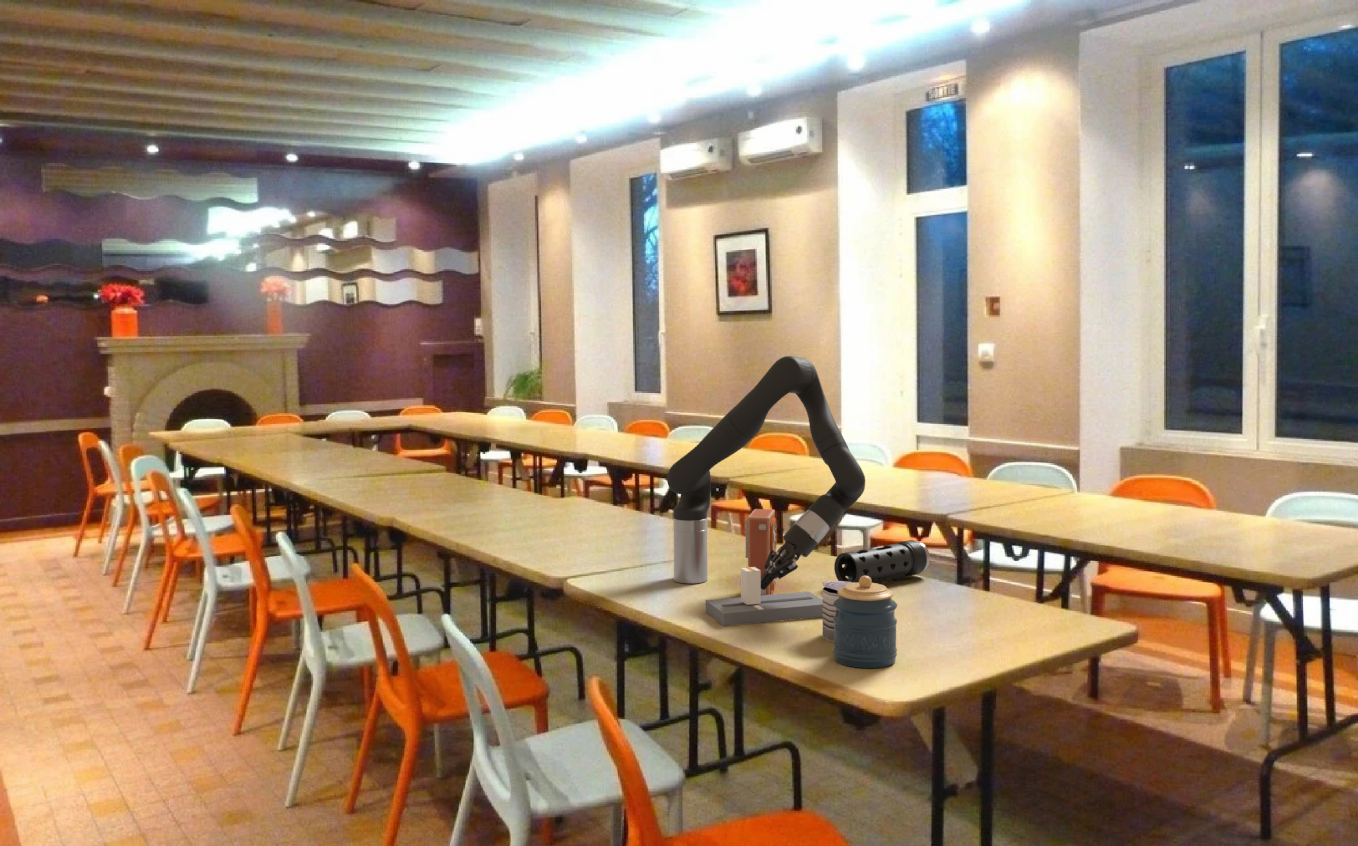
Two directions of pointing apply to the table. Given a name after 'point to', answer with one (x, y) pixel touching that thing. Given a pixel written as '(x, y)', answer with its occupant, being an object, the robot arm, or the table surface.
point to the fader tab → (750, 585)
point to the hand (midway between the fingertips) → (759, 587)
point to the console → (765, 608)
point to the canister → (865, 625)
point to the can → (830, 606)
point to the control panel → (761, 541)
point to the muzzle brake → (883, 562)
